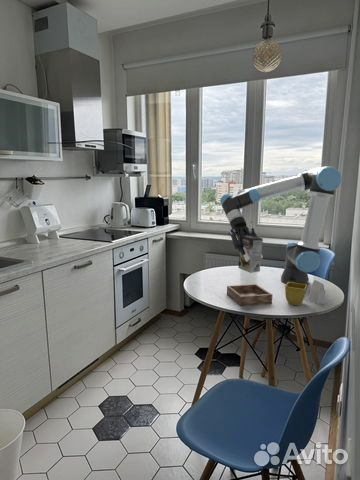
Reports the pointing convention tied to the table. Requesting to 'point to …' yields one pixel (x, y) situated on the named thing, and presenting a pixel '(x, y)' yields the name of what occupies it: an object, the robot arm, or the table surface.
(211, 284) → the table surface
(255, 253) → the coffee box
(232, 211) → the robot arm
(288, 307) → the table surface
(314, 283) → the grey block
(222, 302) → the table surface
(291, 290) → the flower pot
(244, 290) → the tray
